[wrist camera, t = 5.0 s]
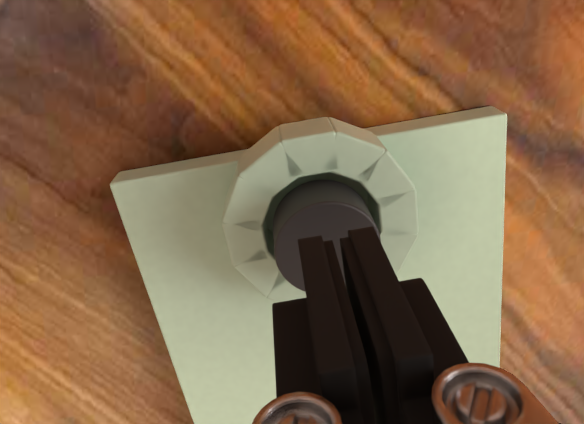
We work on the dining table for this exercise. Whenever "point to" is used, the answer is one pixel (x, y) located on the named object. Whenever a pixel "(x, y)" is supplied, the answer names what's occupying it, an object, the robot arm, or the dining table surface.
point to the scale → (260, 245)
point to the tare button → (315, 222)
